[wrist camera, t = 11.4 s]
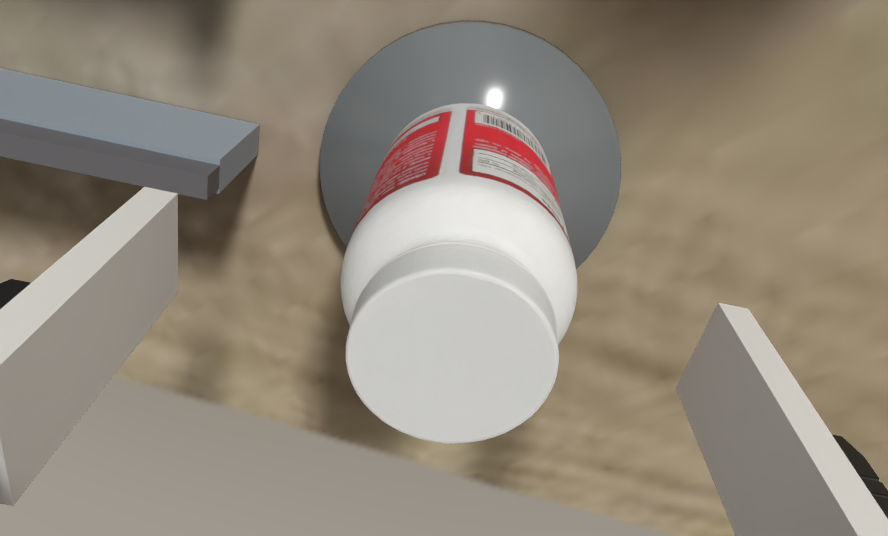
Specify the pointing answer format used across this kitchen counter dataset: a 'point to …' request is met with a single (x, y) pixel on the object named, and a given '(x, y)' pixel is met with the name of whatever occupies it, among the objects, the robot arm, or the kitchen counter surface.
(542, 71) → the coaster
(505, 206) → the pill bottle
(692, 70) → the kitchen counter surface
